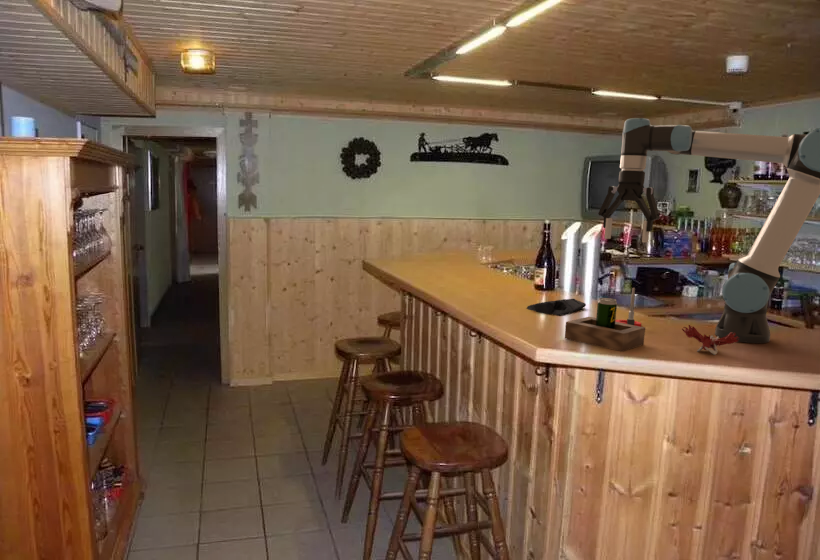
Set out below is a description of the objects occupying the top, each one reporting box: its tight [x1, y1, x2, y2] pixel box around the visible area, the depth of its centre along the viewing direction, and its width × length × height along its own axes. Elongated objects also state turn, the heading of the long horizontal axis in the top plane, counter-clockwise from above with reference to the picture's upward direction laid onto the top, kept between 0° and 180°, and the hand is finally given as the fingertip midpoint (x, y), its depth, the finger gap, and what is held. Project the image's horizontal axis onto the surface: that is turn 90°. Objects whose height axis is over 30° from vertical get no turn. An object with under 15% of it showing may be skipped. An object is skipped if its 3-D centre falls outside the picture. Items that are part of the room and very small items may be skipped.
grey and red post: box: [615, 287, 642, 327], centre depth 208 cm, size 8×13×9 cm
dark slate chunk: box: [526, 298, 587, 316], centre depth 230 cm, size 15×22×5 cm
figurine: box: [681, 324, 739, 356], centre depth 176 cm, size 15×12×7 cm
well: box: [564, 316, 646, 352], centre depth 183 cm, size 18×13×5 cm
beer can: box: [595, 297, 618, 329], centre depth 183 cm, size 5×5×12 cm
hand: (625, 240), depth 198 cm, fingers open, 12 cm apart
